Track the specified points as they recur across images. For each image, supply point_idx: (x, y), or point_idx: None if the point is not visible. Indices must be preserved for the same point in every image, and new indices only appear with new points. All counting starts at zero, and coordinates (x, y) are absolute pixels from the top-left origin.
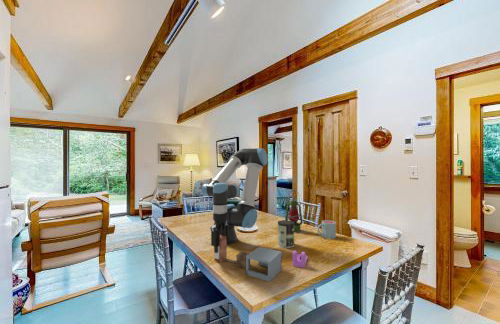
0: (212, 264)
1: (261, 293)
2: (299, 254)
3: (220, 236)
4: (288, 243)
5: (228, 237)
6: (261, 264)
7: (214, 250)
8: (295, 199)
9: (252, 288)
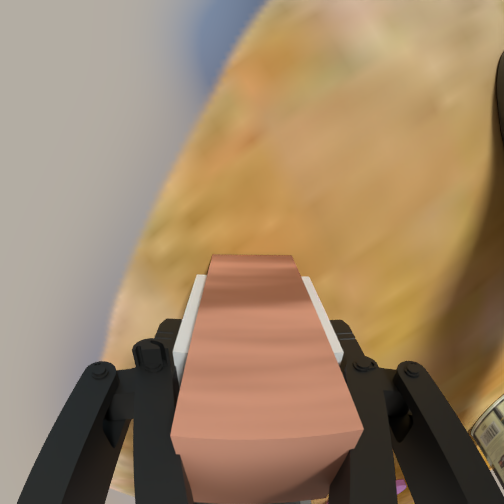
0: (142, 286)
1: (123, 486)
2: (403, 486)
3: (268, 477)
4: (478, 444)
5: (409, 422)
6: None
7: (156, 335)
8: None
9: (122, 474)
